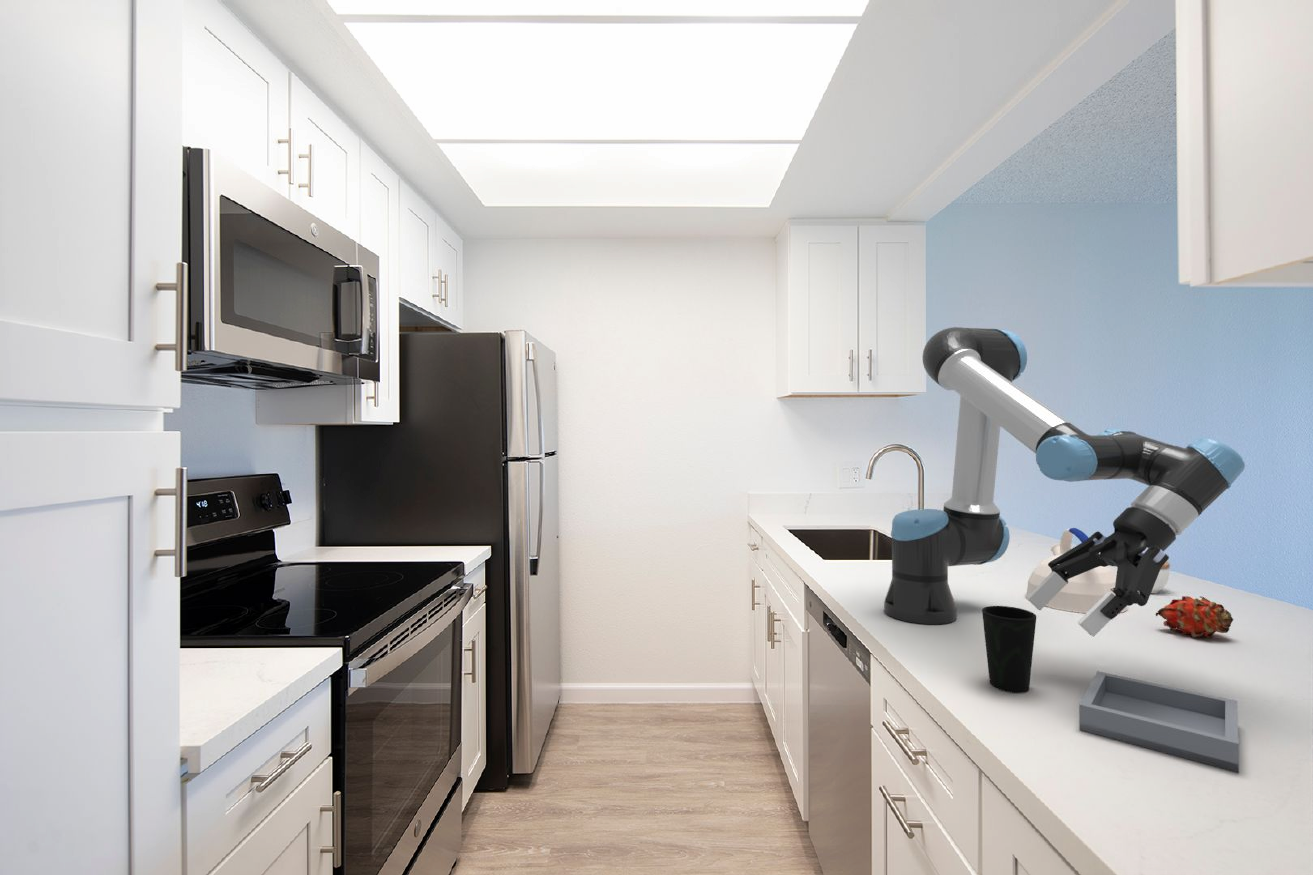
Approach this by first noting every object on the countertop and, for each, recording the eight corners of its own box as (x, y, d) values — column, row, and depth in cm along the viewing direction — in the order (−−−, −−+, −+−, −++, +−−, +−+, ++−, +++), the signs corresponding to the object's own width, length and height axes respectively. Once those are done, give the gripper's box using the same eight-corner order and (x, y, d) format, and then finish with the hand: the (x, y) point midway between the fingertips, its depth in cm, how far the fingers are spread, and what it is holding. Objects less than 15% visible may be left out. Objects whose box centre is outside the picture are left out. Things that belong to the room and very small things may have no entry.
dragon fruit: (1240, 650, 119) (1161, 648, 125) (1228, 615, 125) (1154, 614, 131) (1239, 621, 115) (1158, 620, 122) (1226, 587, 121) (1150, 587, 128)
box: (1079, 729, 85) (1079, 704, 85) (1097, 693, 96) (1097, 671, 96) (1238, 772, 74) (1238, 743, 74) (1237, 725, 85) (1237, 700, 85)
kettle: (1101, 593, 155) (1101, 522, 155) (1146, 617, 135) (1146, 536, 135) (1013, 589, 160) (1013, 521, 160) (1044, 612, 140) (1044, 533, 140)
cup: (1044, 697, 95) (1044, 620, 95) (991, 693, 96) (991, 618, 96) (1025, 678, 102) (1025, 606, 102) (976, 674, 104) (975, 604, 104)
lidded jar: (1132, 595, 153) (1132, 558, 153) (1108, 584, 164) (1107, 549, 164) (1180, 596, 151) (1180, 559, 151) (1152, 586, 162) (1152, 550, 162)
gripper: (1242, 552, 85) (1131, 661, 85) (1114, 526, 109) (1030, 610, 110) (1201, 515, 85) (1092, 623, 85) (1083, 497, 110) (999, 581, 110)
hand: (1057, 616), depth 98 cm, fingers open, 13 cm apart
